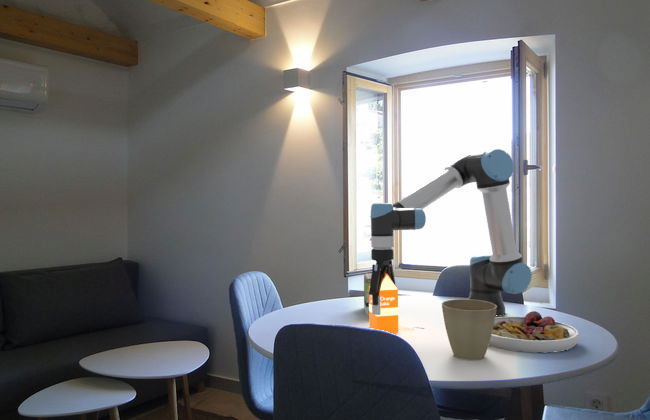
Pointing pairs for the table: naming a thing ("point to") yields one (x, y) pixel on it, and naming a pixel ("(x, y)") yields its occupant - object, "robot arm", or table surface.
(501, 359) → the table surface
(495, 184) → the robot arm
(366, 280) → the tea box
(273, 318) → the table surface
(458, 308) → the plant pot
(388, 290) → the orange juice
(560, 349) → the plate of food
